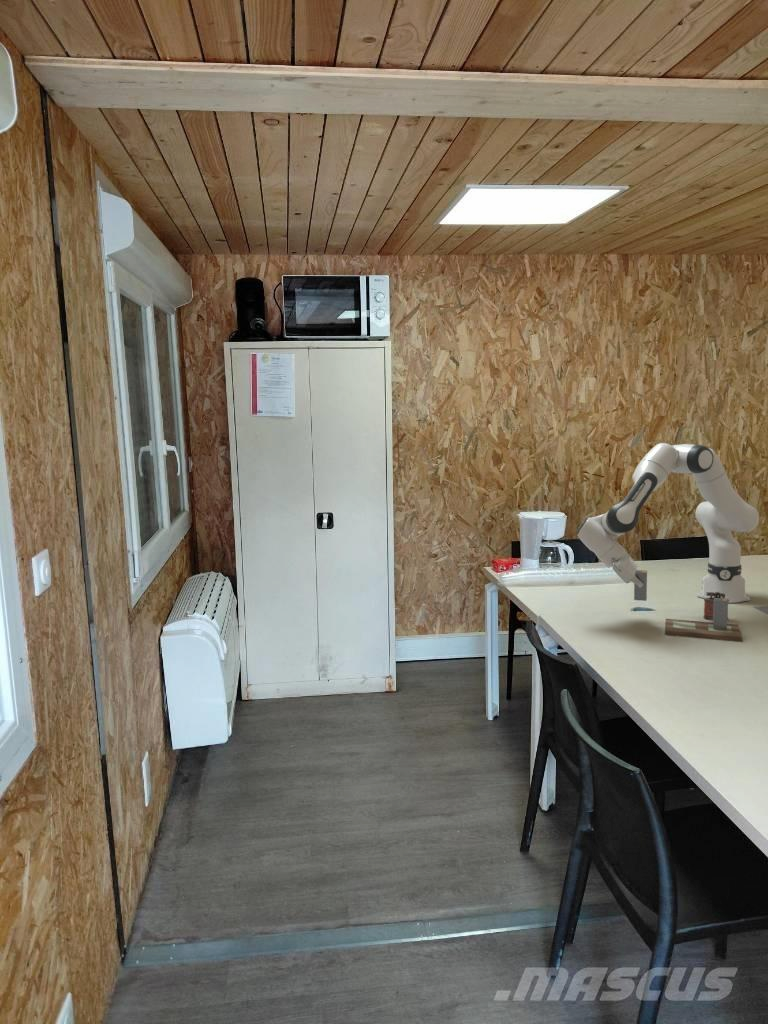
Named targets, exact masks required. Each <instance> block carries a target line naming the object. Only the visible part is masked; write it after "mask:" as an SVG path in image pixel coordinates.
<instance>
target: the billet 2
mask: <svg viewBox="0 0 768 1024" xmlns="http://www.w3.org/2000/svg"><path fill="white" fill-rule="evenodd" d="M728 610H729V603H728V600H727V598H714V611H713V620H712V622H713V630H725V631H727V624H728V620H727V612H728ZM728 613H729V612H728Z"/></svg>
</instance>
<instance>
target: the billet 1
mask: <svg viewBox="0 0 768 1024" xmlns="http://www.w3.org/2000/svg"><path fill="white" fill-rule="evenodd" d="M635 576H636V577H637V578H638V579H639V580H641V581H642V582H643V584H644V585H643V586H642V587H641V588H639V587H638V586H637V585H636V584H635V583H633V586H634V588H633V590H634V591H633V600H634V601H641V602H642V601H643V602H644V601H646V602H647V600H648V570H646V569H645V570H644V569H643V570H640V569H637V570H636V574H635Z"/></svg>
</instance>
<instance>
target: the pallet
mask: <svg viewBox="0 0 768 1024" xmlns="http://www.w3.org/2000/svg"><path fill="white" fill-rule="evenodd" d="M665 634H669V636H676V635H678V637H687V636H688V638H689V637H691V638H701V639H709V638H710V639H709V640H712V639H713V640H720V639H721V640H723V641H732V642H742V638H743V637H742V634H741V630H740V626H739V624H737V623H727V631H725V630H713V621H702V620H701V621H700V620H688V619H676V618H665V625H664V635H665ZM721 640H720V641H721Z"/></svg>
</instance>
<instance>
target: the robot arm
mask: <svg viewBox="0 0 768 1024" xmlns="http://www.w3.org/2000/svg"><path fill="white" fill-rule="evenodd" d="M671 473H676V474H680V475H681V474H683V475H684V474H692V477H693V480H694V482H695V484H696V486H697V488H698V491H699V494H700V496H701V498H702V499H704V500H705V501H702V502H700V503H699V504H698V506H697V507H696V510H695V520H696V521H697V523H699V524H700V526H701V527H702V529H703V530H704V532H705V535H706V538H707V541H708V548H709V549H708V551H709V552H708V553H709V554H708V555H709V558H708V561H709V562H708V563H707V574H706V575H704V577H703V578H702V579H701V584H702V587H701V588H702V589H701V590H700V591H699V592H698V593H697V598H701V599H704V598H710V596H706V593H707V592H714V593H715V592H719V593H725V598H727V599H729V602H728V604H731V603H732V604H734V603H735V604H737V603H741V602H746V601H751V597H750V596H749V595H748V594H746V579H745V578H744V577H743V576H742V575H741V574H742V570H743V568H742V564H741V557H742V556H741V553H742V547H741V544H740V543H739V541H738V540H737V539H735V537H734V536H733V534H732V532H737V533H741V532H743V533H744V532H745V533H747V532H752V531H754V529H756V527H758V525H759V522H760V514H759V511H758V510H757V508H755V507H753V506H752V505H750V504H749V503H748V502H746V501H745V500H744V499H743V498H742V497H741V496H740V495H739V493H738V492H737V491H736V490H735V488H734V487H733V486H732V484H731V481H730V479H729V477H728V475H727V472H726V470H725V467H724V465H723V463H722V461H721V459H720V457H719V456H718V454H717V453H716V452H715V450H714V449H712V448H710V447H708V446H705V445H703V444H691V443H683V444H670V443H666V442H659V443H657V444H656V445H654V446H653V447H652V448H651V449H650V450H649V451H648V452H647V453H646V454H645V455H644V456H643V458H642V459H640V461H639V463H638V464H637V466H636V467H635V469H634V471H633V473H632V477H631V478H632V482H633V483H634V485H633V486H632V487H631V489H630V490H629V492H628V494H627V495H626V496H625V497H624V499H623V500H622V501H620V502H619V503H617V504H615V505H613V506H612V507H611V508H610V509H609V510H608V511H607V512H605V513H603V514H600V515H596V516H592V517H587V518H585V519H583V520H582V522H581V524H580V525H579V526H578V527H577V530H576V535H577V537H578V538H579V540H580V541H581V542H582V544H584V545H585V546H584V547H586V548H588V550H589V551H591V552H592V553H594V554H595V556H596V557H597V559H599V561H600V562H602V564H604V566H606V568H608V569H609V568H612V570H613V571H614V573H616V575H617V576H618V577H619V578H620V579H621V580H622V582H624V583H625V584H630V582H631V583H633V584H634V583H635V584H636V585H637V586H638V587H639V588H641V587H642V586H643V585H644V584H643V582H642V581H641V580H639V579H638V578H637V577H636V576H635V574H636V570H638V567H639V566H638V564H637V563H636V561H635V560H634V559H633V558H632V556H631V555H630V554H629V553H628V552H627V550H626V548H625V547H624V546H623V545H621V544H620V543H619V542H618V541H617V540H616V539H617V538H618V537H620V536H623V535H624V534H625V533H628V532H631V531H632V530H633V529H634V528H636V526H637V523H638V520H639V514H640V511H641V509H642V507H643V506H644V504H645V503H646V502H647V499H648V498H649V496H651V494H652V493H654V492H656V491H657V490H658V489H659V488H660V487H661V486H662V484H664V482H665V481H666V480H667V479H668V477H669V476H670V474H671ZM712 597H714V596H712ZM721 598H722V596H721Z"/></svg>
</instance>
